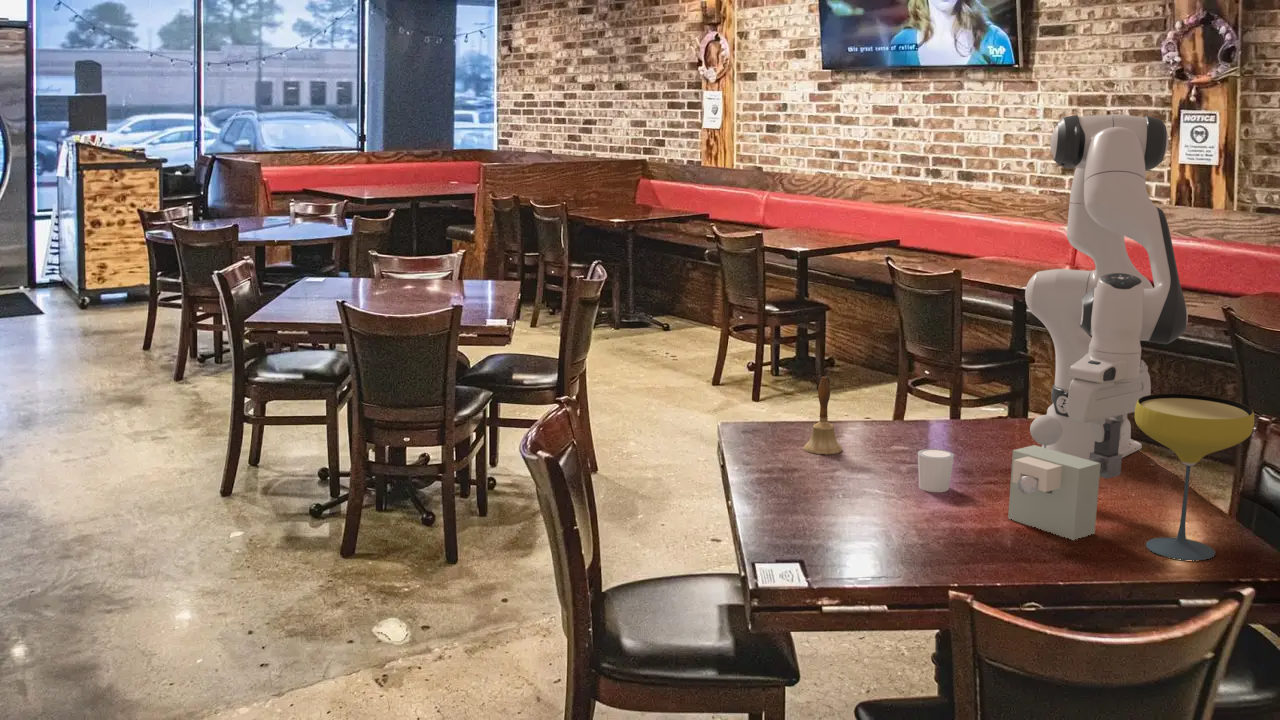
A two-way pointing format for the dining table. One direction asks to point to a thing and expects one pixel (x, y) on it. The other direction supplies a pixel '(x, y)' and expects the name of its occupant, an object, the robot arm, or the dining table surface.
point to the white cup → (935, 469)
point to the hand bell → (823, 426)
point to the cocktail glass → (1191, 447)
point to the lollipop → (1046, 430)
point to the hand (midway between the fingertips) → (1107, 439)
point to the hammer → (1092, 458)
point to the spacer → (1038, 472)
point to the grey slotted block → (1059, 496)
